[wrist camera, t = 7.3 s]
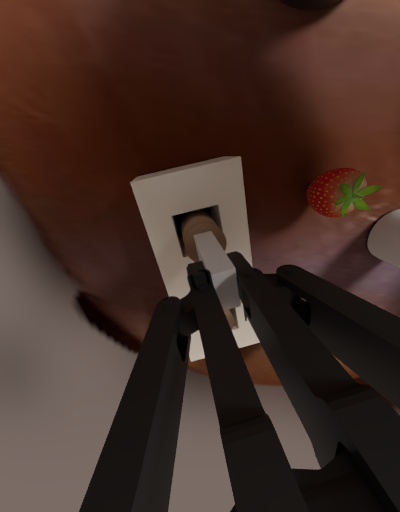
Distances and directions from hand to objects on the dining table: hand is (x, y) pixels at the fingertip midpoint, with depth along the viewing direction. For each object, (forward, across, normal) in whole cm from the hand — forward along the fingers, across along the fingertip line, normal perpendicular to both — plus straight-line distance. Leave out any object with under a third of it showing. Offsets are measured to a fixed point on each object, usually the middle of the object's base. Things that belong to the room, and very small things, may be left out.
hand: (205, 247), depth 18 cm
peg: (+6, 0, 0) cm, 6 cm away
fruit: (+10, +16, 0) cm, 19 cm away
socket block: (+10, 0, -6) cm, 11 cm away
